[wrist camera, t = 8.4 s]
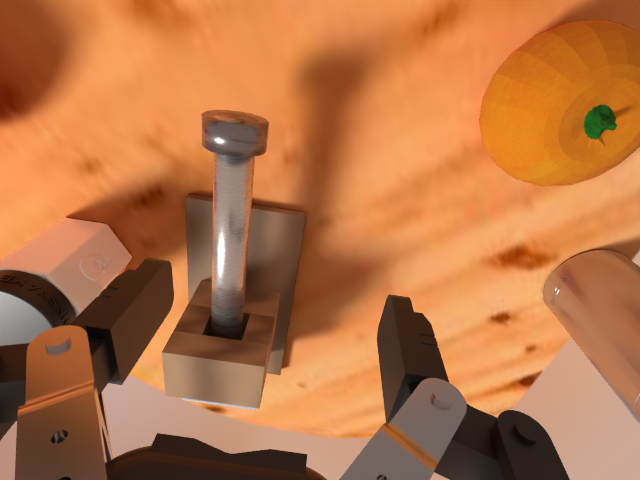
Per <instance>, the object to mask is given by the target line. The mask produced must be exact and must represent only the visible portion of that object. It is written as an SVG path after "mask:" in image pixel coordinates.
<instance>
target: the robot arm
mask: <svg viewBox="0 0 640 480" xmlns="http://www.w3.org/2000/svg"><path fill="white" fill-rule="evenodd" d="M543 295H544V300H545V303H546V305H547V306H548V307H549V309H550V310H551V311H552V312H553V314H554V315H555V316H556V317H557V319H558V320H559V321H560V323H561V324H562V325H563V327H564V328H565V329H566V331H567V332H568V333H569V335H570V336H571V337H572V338H573V340H574V341H575V342H576V344H577V345H578V346H579V347H580V349H581V350H582V351H583V352H584V354H585V355H586V356H587V358H588V359H589V360H590V361H591V363H592V364H593V365H594V366H595V368H596V369H597V370H598V372H599V373H600V374H601V376H602V377H603V378H604V379H605V381H606V382H607V383H608V385H609V386H610V387H611V388H612V389H613V391H614V392H615V393H616V395H617V396H618V397H619V398H620V400H621V401H622V402H623V404H624V405H625V406H626V407H627V409H628V410H629V411H630V413H631V414H632V415H633V417H634V418H635V419H636V420H637V422H638V423H639V424H640V267H639V266H638V265H636V264H635V263H634V262H632V261H631V260H630V259H629V258H627V257H626V256H625V255H623V254H621V253H619V252H616V251H611V250H595V251H589V252H585V253H582V254H579V255H577V256H575V257H573V258H570V259H568V260H567V261H565V262H564V263H563V264H561V265H560V266H559V267H558V268H557V269H555V270H554V271H553V273H552V274H551V275H550V277H549V278H548V280H547V282H546V284H545V286H544V291H543ZM173 299H174V290H173V278H172V266H171V263H170V262H169V261H165V260H158V259H151V258H147V259H145V260H144V261H143V263H142V264H141V265H140V266H139V267H138V268H137V269H136V270H128V271H126V272H124V273H122V274H120V275H119V276H117V277H115V278H114V279H113V280H112V281H111V282H110V283H109V285H108V286H107V287H106V289H104V290H103V291H102V292H101V293H100V294H99V296H98V297H96V298H95V299H94V300H93V301H92V302H91V303H90V304H89V305H88V306H87V307H86V308H85V309H84V310H83V311H82V312H81V313H80V314H79V315H78V316H77V317H76V318H75V319H74V320H73V321H72V322H71V323H70V324H69V325H66V326H59V327H55V328H52V329H49V330H47V331H45V332H43V333H41V334H40V335H38V336H37V337H36V338H34V339H33V340H32V341H31V343H25V344H14V345H4V346H0V440H1V439H2V438H3V436H4V435H5V434H6V432H7V431H8V430H9V429H10V428H11V426H12V425H13V424H14V422H15V421H17V438H16V463H15V480H327V479H326V478H324V477H323V476H322V475H320V474H319V473H317V472H316V471H314V470H312V469H310V468H308V467H306V460H307V454H301V453H293V452H286V451H279V450H272V449H269V450H260V451H252V452H244V453H237V454H229V453H225V452H223V451H221V450H219V449H217V448H214V447H212V446H210V445H207V444H206V443H203V442H201V441H199V440H197V439H194V438H187V437H180V436H172V435H166V434H158V433H157V435H156V437H155V440H154V441H153V444H152V446H147V447H143V448H138V449H135V450H132V451H129V452H126V453H124V454H122V455H120V456H118V457H115V458H114V457H113V453H112V448H111V442H110V437H109V431H108V425H107V419H106V412H105V407H104V401H103V395H102V391H103V389H104V388H105V386H106V385H107V384H108V383H112V384H119V385H122V384H123V382H124V381H125V379H126V378H127V376H128V375H129V373H130V372H131V370H132V369H133V367H134V365H135V364H136V362H137V361H138V359H139V358H140V356H141V355H142V353H143V352H144V350H145V349H146V347H147V345H148V344H149V342H150V341H151V339H152V338H153V336H154V335H155V333H156V332H157V330H158V329H159V327H160V325H161V324H162V322H163V321H164V319H165V318H166V316H167V315H168V313H169V312H170V310H171V307H172V304H173ZM434 336H435V335H434V332H433V329H432V325H431V323H430V322H429V321H428V320H427V318H426V317H425V316H424V315H423V314H422V313H416V312H414V311H413V307H412V303H411V300H410V298H409V297H403V296H396V295H388V297H387V300H386V303H385V306H384V310H383V313H382V316H381V320H380V323H379V327H378V334H377V345H378V354H379V363H380V371H381V380H382V389H383V398H384V407H385V416H386V423H385V424H383V425H382V426H381V427H380V428H379V430H378V431H377V432H376V433H375V435H374V436H373V437H372V439H371V440H370V441H369V442H368V444H367V445H366V446H365V447H364V449H363V450H362V451H361V453H360V454H359V455H358V456H357V458H356V459H355V460H354V461H353V463H352V464H351V465H350V467H349V468H348V469H347V470H346V472H345V473H344V474H343V475H342V477H341V478H340V479H339V480H430V478H431V476H432V474H433V473H434V472H435V473H437V474H439V475H441V476H444V477H446V478H448V479H450V480H570V479H569V477H568V475H567V473H566V471H565V468H564V466H563V464H562V462H561V460H560V458H559V455H558V453H557V451H556V449H555V447H554V445H553V443H552V440H551V438H550V437H549V435H548V433H547V432H546V430H545V429H544V428H543V427H542V426H541V425H540V424H539V423H538V422H537V421H535V420H534V419H533V418H531V417H530V416H528V415H526V414H524V413H521V412H518V411H514V410H507V411H504V412H502V413H501V414H500V415H499V416H498V418H496V417H494V416H492V415H489V414H487V413H484V412H482V411H480V410H477V409H475V408H473V407H471V406H470V405H468V404H466V401H465V399H464V397H463V395H462V394H461V393H460V391H459V390H458V389H457V388H456V387H454V386H453V385H452V384H450V383H449V380H448V377H447V374H446V371H445V367H444V364H443V361H442V358H441V354H440V351H439V348H438V347H437V342H436V338H434ZM387 424H388V425H387Z"/></svg>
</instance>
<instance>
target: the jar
mask: <svg viewBox="0 0 640 480" xmlns="http://www.w3.org/2000/svg"><path fill="white" fill-rule="evenodd" d="M131 259H132V256H131V255H130V253H129V252H128V251H127V249H126V248H125V247H124V245H123V244H122V243H121V241H120V240H119V239H118V238H117V236H116V235H115V234H114V232H113V231H112V230H111V228H110V227H109V226H108V225H107V224H104V223H97V222H91V221H84V220H77V219H71V218H63V219H61V220H60V221H58V222H57V223H55V224H54V225H52V226H51V227H49V228H48V229H46V230H45V231H43V232H42V233H40V234H39V235H37V236H36V237H34V238H33V239H31V240H30V241H29V242H27V243H26V244H24V245H23V246H21V247H20V248H18V249H17V250H15V251H14V252H12V253H11V254H9V255H8V256H6V257H5V258H3V259H2V260H0V346H4V345H14V344H25V343H31V341H32V340H33V339H34V338H36V337H37V336H38V335H40V334H41V333H43V332H45V331H47V330H49V329H52V328H55V327H59V326H66V325H69V324H70V323H71V322H72V321H73V320H74V319H75V318H76V317H77V316H78V315H79V314H80V313H81V312H82V311H83V310H84V309H85V308H86V307H87V306H88V305H89V304H90V303H91V302H92V301H93V300H94V299H95V298H96V297H98V296H99V294H100V293H101V292H102V291H103V290H104V289H106V287H107V286H108V285H109V283H110V282H111V281H112V280H113V279H114V278H115V277H117V276H119V275H120V274H122V273H123V272H124V270H125V268H126V267H127V265H128V264H129V262H130V261H131Z"/></svg>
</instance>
